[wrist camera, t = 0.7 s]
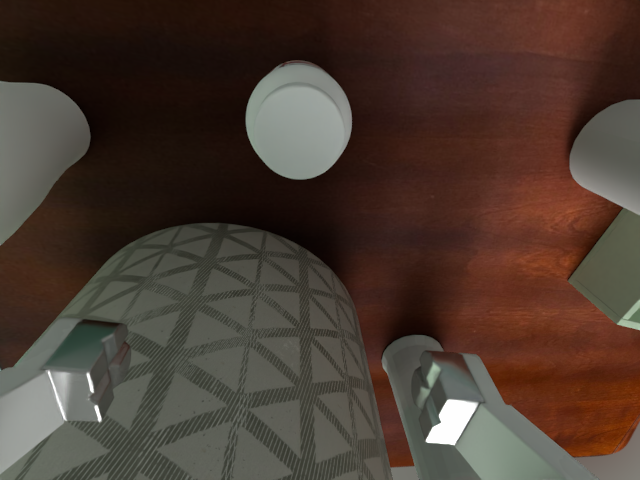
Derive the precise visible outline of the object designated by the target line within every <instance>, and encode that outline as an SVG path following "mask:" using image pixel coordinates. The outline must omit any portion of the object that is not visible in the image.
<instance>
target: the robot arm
mask: <svg viewBox="0 0 640 480" xmlns="http://www.w3.org/2000/svg"><path fill="white" fill-rule="evenodd" d="M127 336H128V329H127V325H126V324H123V323H115V322H106V321H98V320H89V319H77V318H68V317H62V318H60V319H58V320H57V321H56V322H55V323H54V324H53V325H52V326H51V327H50V328H49V330H48V331H47V332H46V333H45V334H44V335H43V336H42V337H41V339H40V340H39V341H38V342H37V343H36V344H35V345H34V347H33V348H32V349H31V350H30V351H29V352H28V353H27V354H26V356H25V357H24V358H23V359H22V360H21V361H20V362H19V364H18V365H17V366H16V367H15V368H6V369H4V370H2V371H0V474H1V473H2V472H4V471H5V470H6V469H7V468H9V467H10V466H11V465H12V464H14V463H15V462H16V461H17V460H19V459H20V458H21V457H22V456H24V455H25V454H26V453H27V452H29V451H30V450H31V449H32V448H33V447H35V446H36V445H37V444H38V443H40V442H41V441H42V440H43V439H45V438H46V437H47V436H48V435H50V434H51V433H52V432H53V431H55V430H56V429H57V428H58V427H60V426H61V425H62V424H63V423H64V421H84V422H102V420H103V418H104V416H105V414H106V412H107V410H108V409H109V407H110V405H111V403H112V401H113V399H114V393H113V389H114V388H115V387H117V386H118V385H119V384H121V383H122V382H123V380H124V378H125V376H126V374H127V372H128V369H129V366H130V362H131V347H130V345H129V344H128V343H127V342H125V339H126V337H127ZM419 360H420V363H421V366H420V367H418V368H417V369H415V370H414V373H413V376H412V380H411V393H412V398H413V402H414V404H415V405H416V406H417V407H418V408H419V409H420V410H421V411H422V412H421V414H420V416H419V418H418V419H419V422H420V426H421V429H422V433H423V436H424V439H425V442H430V443H441V444H452V445H456V446H455V447H456V448H457V450H458V451H459V452H460V453H461V455H462V456H463V457H464V458H465V459H466V461H467V462H468V463H469V464H470V466H471V467H472V468H473V469H474V471H475V472H476V473H477V474H478V476H479V477H480V478H481V479H482V480H599V479H598V478H597V477H596V476H595V475H593V474H592V473H591V472H590V471H588V470H587V469H586V468H585V467H584V466H583V465H581V464H580V463H579V462H578V461H576V459H574V458H573V457H572V456H571V455H570V454H568V453H567V452H566V451H565V450H564V449H562V448H561V447H560V446H559V445H558V444H556V443H555V442H554V441H553V440H552V439H550V438H549V437H548V436H547V435H546V434H544V433H543V432H542V431H541V430H540V429H538V428H537V427H536V426H535V425H534V424H532V423H531V422H530V421H529V420H528V419H526V418H525V417H524V416H523V415H522V414H520V413H519V412H518V411H517V410H516V409H514V408H513V407H512V406H511V405H505V403H504V401H503V399H502V398H501V396H500V394H499V392H498V390H497V388H496V386H495V385H494V383H493V381H492V379H491V377H490V375H489V374H488V372H487V370H486V368H485V366H484V364H483V362H482V361H481V359H480V357H479V356H477V355H476V354H467V353H455V352H442V351H430V350H425V351H424V352H423V353H422V354H421V356H420V359H419Z"/></svg>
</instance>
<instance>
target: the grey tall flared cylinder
mask: <svg viewBox="0 0 640 480" xmlns="http://www.w3.org/2000/svg"><path fill="white" fill-rule="evenodd" d="M425 350H430V351H442V352H443V348H442V347H441V345H440V344H439V342H437V341H436V340H435V339H433V338H431V337H428V336H425V335H410V336H405V337H402V338H400V339H398V340H395V341H394V342H393V343H391V344H390V345H389V346H388V347H387V348H386V350H385V351H384V353H383V356H382V365H383V369H384V370H385V371H386V372H387V374H388V377H389V380H390V383H391V386H392V390H393V393H394V396H395V400H396V403H397V406H398V409H399V413H400V416H401V419H402V423H403V426H404V429H405V432H406V436H407V439H408V443H409V446H410V450H411V453H412V457H413V461H414V464H415V468H416V471H417V475H418V478H419V480H482V479H481V478H480V477H479V476H478V474H477V473H476V472H475V471H474V469H473V468H472V467H471V466H470V464H469V463H468V462H467V461H466V459H465V458H464V457H463V456H462V455H461V453H460V452H459V451H458V450H457V448H456V447H455V446H456V445H452V444H441V443H430V442H425V439H424V436H423V433H422V429H421V426H420V422H419V419H418V418H419V416H420V414H421V412H422V411H421V410H420V409H419V408H418V407H417V406H416V405H415V404H414V402H413V398H412V393H411V380H412V376H413V373H414V370H415V369H417V368H418V367H420V366H421V363H420V360H419V359H420V356H421V354H422V353H423V352H424V351H425Z"/></svg>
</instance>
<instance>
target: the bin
mask: <svg viewBox="0 0 640 480" xmlns="http://www.w3.org/2000/svg"><path fill="white" fill-rule="evenodd" d="M568 282H569V283H570V284H572V285H573V286H574V287H575V288H576V289H577V290H578V291H580V292H581V293H582V294H583V295H584V296H585V297H586V298H587V299H589V300H590V301H591V302H592V303H593V304H594V305H595V306H596V307H598V308H599V309H600V310H601V311H602V312H603V313H604V314H606V315H607V316H608V317H609V318H610V319H611V320H612V321H613V322H615V323H616V324H617V325H622V326H626V327H630V328H634V329H638V330H640V215H638V214H636V213H634V212H632V211H630V210H628V209H626V208H623V209H622V210H621V212H620V213H619V214H618V216H617V217H616V218H615V220H614V221H613V222H612V224H611V225H610V226H609V227H608V229H607V230H606V231H605V233H604V234H603V235H602V237H601V238H600V239H599V240H598V242H597V243H596V244H595V246H594V247H593V248H592V250H591V251H590V252H589V254H588V255H587V256H586V257H585V259H584V260H583V261H582V263H581V264H580V265H579V267H578V268H577V269H576V271H575V272H574V273H573V274H572V276H571V277H570V278H569V280H568Z"/></svg>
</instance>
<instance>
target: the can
mask: <svg viewBox="0 0 640 480" xmlns="http://www.w3.org/2000/svg"><path fill="white" fill-rule="evenodd" d="M570 171H571V173H572V176H573V179H574V180H575V181H576V182H577V183H578V184H580V185H581V186H582V187H584V188H586V189H588V190H590V191H592V192H594V193H596V194H598V195H600V196H602V197H604V198H606V199H608V200H610V201H612V202H614V203H616V204H618V205H620V206H622V207H624V208H626V209H628V210H630V211H632V212H634V213H636V214H638V215H640V100H625V101H622V102H619V103H616V104H613V105H611V106H609V107H607V108H606V109H604V110H603V111H601V112H599V113H598V114H596V115H595V116H594V117H593V118H592V119H591V120H590V121H589V122H588V123H587V124H586V125H585V126H584V127H583V129H582V130H581V132H580V133H579V135H578V137H577V138H576V140H575V141H574V144H573V147H572V150H571V153H570Z"/></svg>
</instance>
